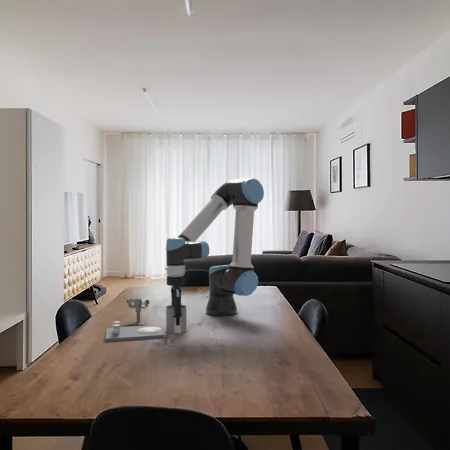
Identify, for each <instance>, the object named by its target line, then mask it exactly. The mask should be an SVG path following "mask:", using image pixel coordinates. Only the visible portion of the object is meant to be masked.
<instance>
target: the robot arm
mask: <svg viewBox="0 0 450 450" xmlns="http://www.w3.org/2000/svg"><path fill="white" fill-rule="evenodd" d="M264 196H265V190H264V187H263V184H262V183H261V182H260V181H259V180H258V179H257V178H253V177H244V178H238V179H237V178H236V179H230V180H228V181H225V183H223V184H222V185H220V187H218V189H216V190H215V191H214V193H213V194H212V195H211V196H210V200H209V201H208V202H207V204H205V206H204V207H203V208H202V209H201V211H200V212H199V213H198V214H197V215H196V216H195V217H194V218H193V219H192V221H190V223H189V224H188V225H187V226H186V227H185V228H184V230H183V231H182V232H181V233H180V234H179V235H178V236H177V237H170V238H167V240H166V243H165V244H166V246H165V250H166V252H165V253H166V254H165V255H166V267H164V269H165V271H166V275H167V276H166V285H167V286H170V287H171V288H170V294H171V295H170V297H171V303H170V305H172V306H174V313H175V315H174V316H173V317H174V333H178V334H182V333H181V316H182V314H181V305H182V289H181V288H180V287H181V286H184V285H185V284H186V276H185V275H186V261H188V260H202V259H206V258H208V256H209V254H210V245H209V244H208V242H207V241H203V240H198V239H200V237H201V236H202V235H203V234H204V233H205V231H206V230H207V229H208V228H209V227H210V226H211V224H212V223H213V222H214V221H215V220H216V219H217V218H218V216H219V215H220V214H221V213H222V212H223V211H227V209H228V208H229V207H230V206H232V208H233V209H234V210H235V220H234V232H233V234H234V235H233V247H232V261H231V262H230V264H224V265H214V266H213V265H212V266H210V267H209V271H208V278H209V279H208V281H209V282H208V283H209V284H208V285H209V286H208V289H209V297H208V301H207V304H206V307H205V314H207V315H209V316H215V317H216V316H218V317H224V316H226V317H227V316H232V315H233V316H234V315H236V314H237V313H238V308H237V304H236V301H235V298H234V295H237V296H240V297H241V296H243V297H247V296H250V295H252V294H253V293H254V292H255V291H256V289H257V287H258V284H259V276H258V275H257V273H256V272H255V271H254V270H255V267H254V265H253V264H252V252H253V251H252V250H253V249H252V248H253V236H254V234H253V233H254V221H255V220H254V218H255V211H256V210H258V208H259V203H261V202H262V200H263V199H264ZM177 313H179V314H177Z"/></svg>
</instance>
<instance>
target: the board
mask: <svg viewBox="0 0 450 450" xmlns="http://www.w3.org/2000/svg"><path fill="white" fill-rule="evenodd" d="M164 336H165V335H164V333H163V329H162V326H161V324H151V325H134V326H133V325H132V326H121V321H120V320H119V321H117V320H116V321H115V320H114V321H113V322H112V324H111V327H107V328H106V332H105V338H104V342H105V343H107V342H111V343H112V342H121V341H123V342H124V341H137V340H139V341H141V340H152V339H164Z"/></svg>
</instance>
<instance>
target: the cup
mask: <svg viewBox="0 0 450 450" xmlns="http://www.w3.org/2000/svg"><path fill="white" fill-rule="evenodd" d="M177 314H179V313H177ZM181 314H182V316H181V333H180V334H182V333H183V334H184V333H185V332H187V306H186V305H185V304H181ZM174 315H175V313H174V306H172V305H171V304H169V305H167V306H165V323H166V324H165V326H166V327H165V329H166V330H165V331H166V333H168V334H171V335H172V334H175V335H176V334H179V333H174V317H173V316H174Z"/></svg>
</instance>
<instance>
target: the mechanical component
mask: <svg viewBox="0 0 450 450" xmlns="http://www.w3.org/2000/svg"><path fill="white" fill-rule="evenodd" d="M126 303H127V307H128V308H130V309H135V310H134V312H136V314H135V315H136V322H138V323H139V322H141V312H142V309H147V308H148V307H149V304H150V300H149V299H145V300H144V302H143V301H142V298H129V299H126ZM143 305H144V306H143Z"/></svg>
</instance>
